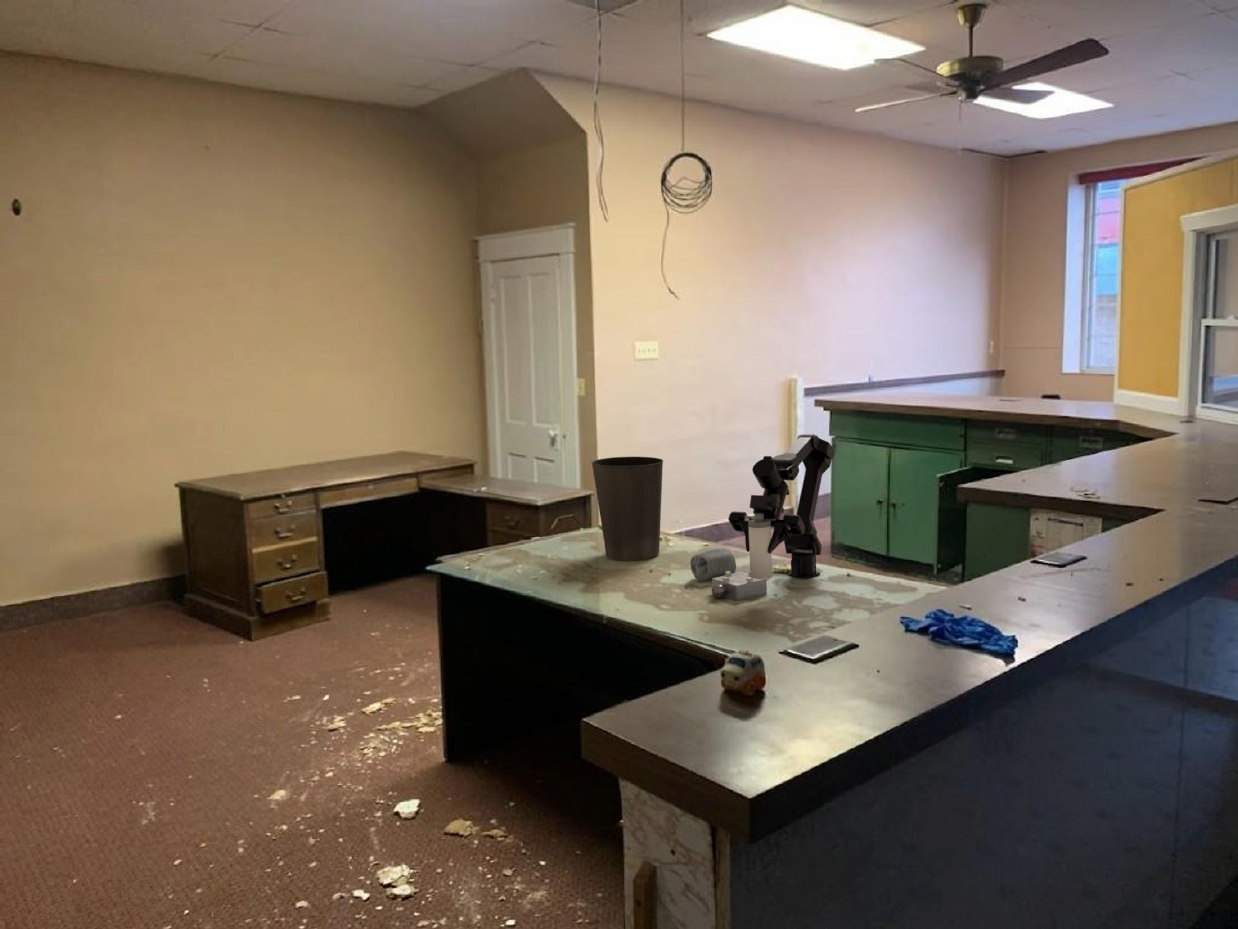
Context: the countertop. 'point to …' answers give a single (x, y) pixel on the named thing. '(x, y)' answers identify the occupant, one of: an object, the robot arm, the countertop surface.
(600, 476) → the waste basket
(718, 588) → the studded square plate
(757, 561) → the white bottle
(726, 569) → the spool
